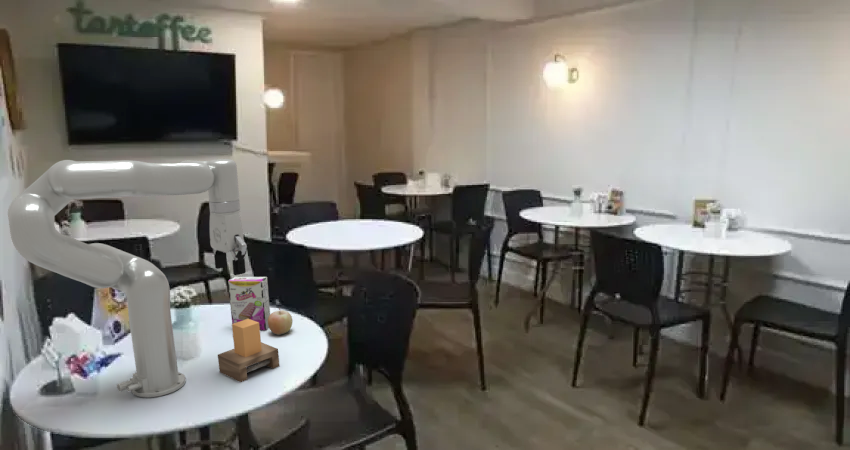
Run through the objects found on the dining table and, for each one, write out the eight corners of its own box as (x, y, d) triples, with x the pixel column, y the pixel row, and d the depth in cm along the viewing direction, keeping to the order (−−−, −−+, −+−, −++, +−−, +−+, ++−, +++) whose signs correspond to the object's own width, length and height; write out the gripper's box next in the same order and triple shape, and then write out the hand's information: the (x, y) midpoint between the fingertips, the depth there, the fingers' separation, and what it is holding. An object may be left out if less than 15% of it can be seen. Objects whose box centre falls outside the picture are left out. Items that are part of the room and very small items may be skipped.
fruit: (271, 329, 193) (269, 304, 191) (294, 327, 193) (292, 303, 191) (266, 338, 185) (264, 313, 183) (291, 336, 185) (288, 311, 184)
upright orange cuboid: (245, 357, 159) (242, 328, 158) (234, 352, 163) (231, 324, 161) (261, 350, 163) (259, 322, 161) (250, 346, 166) (248, 318, 165)
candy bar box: (232, 330, 192) (226, 280, 189) (238, 325, 197) (233, 276, 194) (266, 331, 191) (261, 280, 188) (272, 325, 196) (267, 275, 192)
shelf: (240, 382, 156) (238, 364, 155) (219, 372, 163) (217, 354, 162) (279, 366, 165) (278, 348, 164) (258, 357, 172) (256, 340, 170)
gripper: (195, 205, 162) (201, 268, 165) (227, 212, 150) (233, 280, 153) (222, 202, 167) (227, 262, 171) (255, 208, 155) (260, 273, 159)
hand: (230, 270), depth 162 cm, fingers open, 9 cm apart
